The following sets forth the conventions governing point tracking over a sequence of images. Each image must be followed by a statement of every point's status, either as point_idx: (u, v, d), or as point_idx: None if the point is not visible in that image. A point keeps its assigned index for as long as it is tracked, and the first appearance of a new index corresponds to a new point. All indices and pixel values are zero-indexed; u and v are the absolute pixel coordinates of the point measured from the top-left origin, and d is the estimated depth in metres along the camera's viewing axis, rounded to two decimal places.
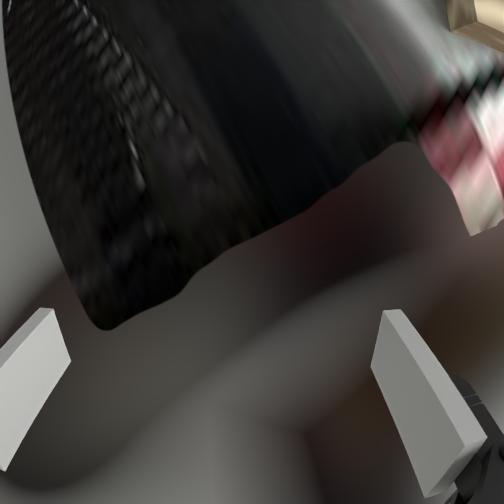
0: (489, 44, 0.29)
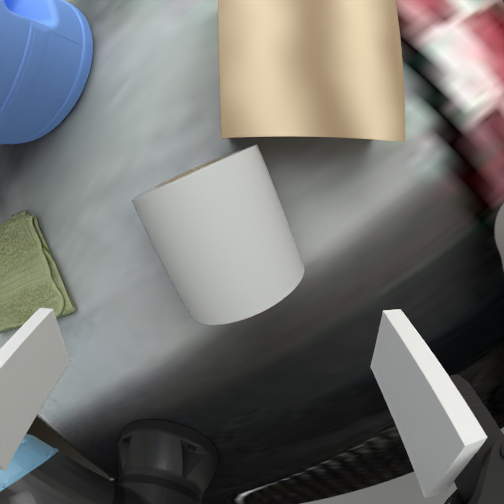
0: None
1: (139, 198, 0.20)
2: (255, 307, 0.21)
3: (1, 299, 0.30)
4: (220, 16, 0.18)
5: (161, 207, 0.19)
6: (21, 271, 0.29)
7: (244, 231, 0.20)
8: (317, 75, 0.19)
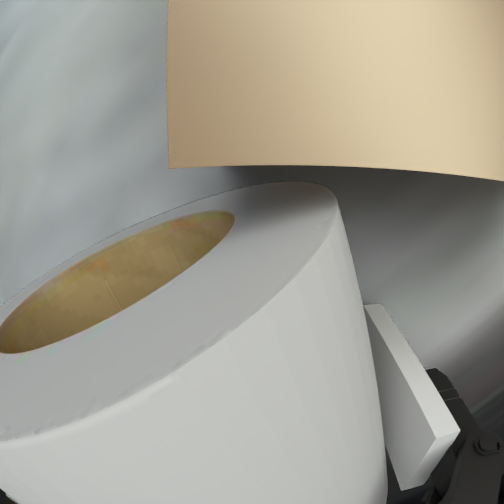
0: None
1: None
2: None
3: None
4: None
5: None
6: None
7: None
8: None
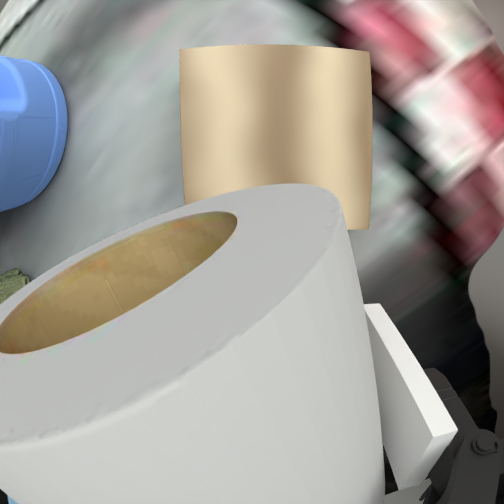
0: None
1: None
2: None
3: None
4: (182, 104, 0.20)
5: None
6: None
7: None
8: (280, 168, 0.21)
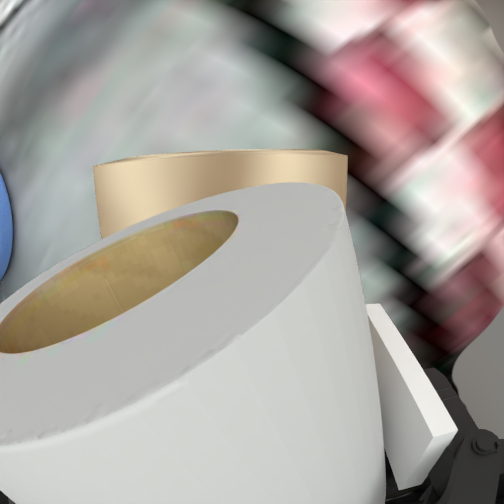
0: None
1: None
2: None
3: None
4: None
5: None
6: None
7: None
8: None
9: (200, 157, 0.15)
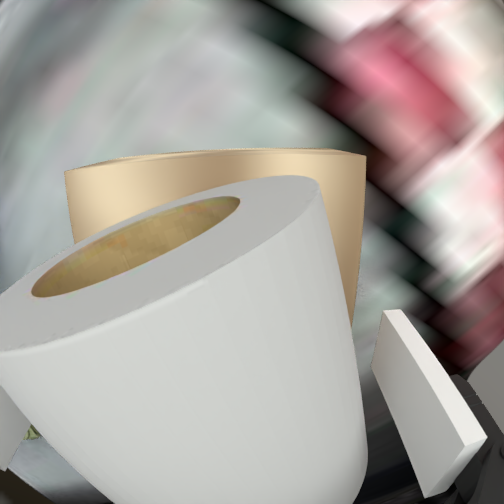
0: None
1: None
2: None
3: None
4: None
5: (11, 396, 0.04)
6: None
7: (266, 481, 0.05)
8: None
9: (187, 159, 0.12)
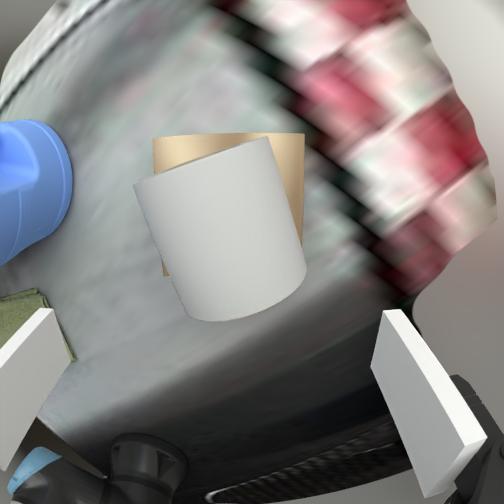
0: None
1: (141, 183, 0.19)
2: (255, 305, 0.20)
3: None
4: None
5: (164, 193, 0.18)
6: None
7: (250, 225, 0.19)
8: None
9: (219, 134, 0.26)
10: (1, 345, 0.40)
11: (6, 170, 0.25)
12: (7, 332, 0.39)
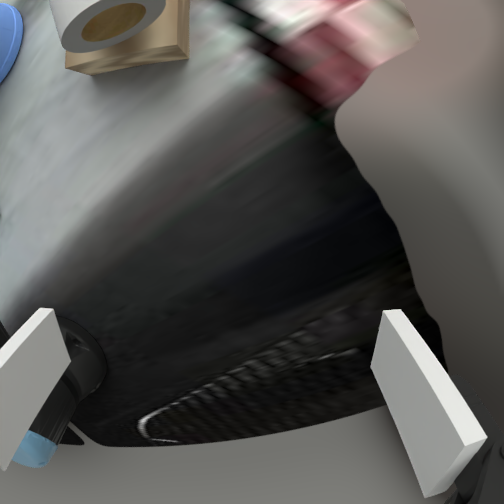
0: (188, 6, 0.30)
1: None
2: None
3: None
4: None
5: None
6: None
7: None
8: None
9: None
10: None
11: None
12: None
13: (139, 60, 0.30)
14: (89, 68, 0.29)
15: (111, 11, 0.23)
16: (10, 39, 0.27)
